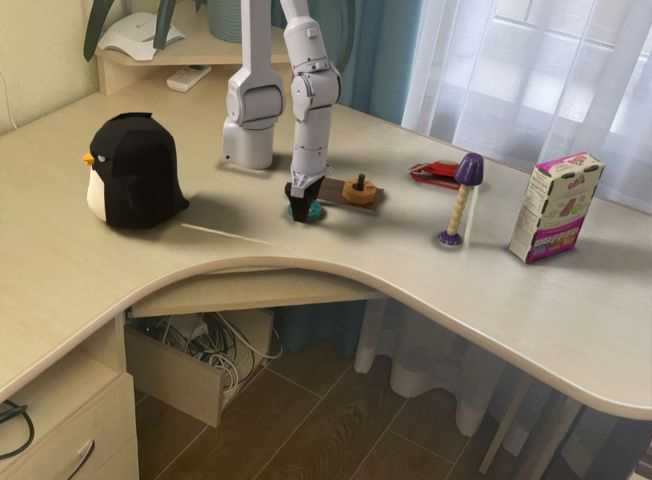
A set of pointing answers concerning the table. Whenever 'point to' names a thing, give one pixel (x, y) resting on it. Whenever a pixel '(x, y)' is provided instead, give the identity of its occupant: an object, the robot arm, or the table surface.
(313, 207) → the teal ring
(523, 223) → the candy bar box
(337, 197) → the peg rack
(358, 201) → the ochre ring
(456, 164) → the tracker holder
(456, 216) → the toy lamp
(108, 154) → the penguin
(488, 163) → the table surface
